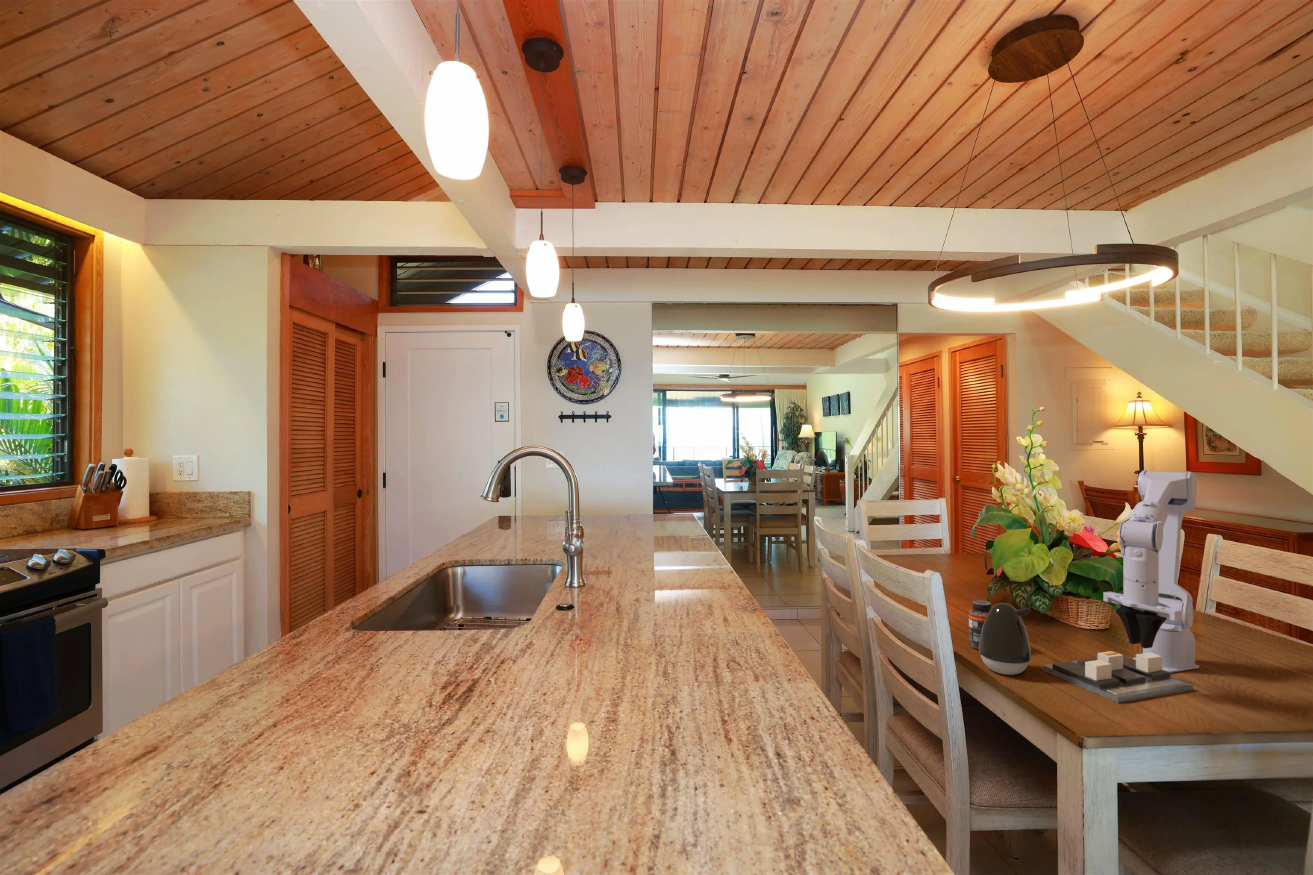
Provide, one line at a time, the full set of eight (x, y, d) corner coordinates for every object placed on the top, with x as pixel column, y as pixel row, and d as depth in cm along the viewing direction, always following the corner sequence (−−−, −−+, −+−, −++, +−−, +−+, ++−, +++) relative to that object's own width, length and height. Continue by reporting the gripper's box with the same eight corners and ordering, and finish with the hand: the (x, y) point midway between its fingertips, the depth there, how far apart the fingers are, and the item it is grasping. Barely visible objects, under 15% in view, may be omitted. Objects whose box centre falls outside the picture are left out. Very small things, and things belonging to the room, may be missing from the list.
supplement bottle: (996, 645, 154) (995, 600, 153) (996, 653, 148) (996, 606, 148) (969, 641, 156) (969, 597, 156) (968, 649, 151) (968, 603, 151)
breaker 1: (1099, 673, 130) (1099, 659, 130) (1111, 678, 128) (1111, 663, 128) (1085, 675, 129) (1085, 661, 129) (1096, 680, 127) (1096, 666, 127)
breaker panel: (1112, 660, 143) (1112, 650, 143) (1192, 690, 127) (1192, 679, 127) (1043, 670, 138) (1043, 660, 138) (1117, 703, 122) (1117, 692, 121)
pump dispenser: (1039, 681, 132) (1039, 611, 132) (987, 678, 134) (986, 608, 134) (1021, 663, 142) (1021, 597, 142) (973, 660, 144) (972, 596, 144)
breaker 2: (1150, 665, 134) (1150, 652, 134) (1162, 670, 131) (1162, 656, 131) (1136, 668, 133) (1136, 654, 133) (1147, 672, 130) (1147, 658, 130)
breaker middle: (1111, 664, 135) (1111, 650, 135) (1123, 668, 133) (1123, 654, 132) (1097, 666, 134) (1097, 652, 134) (1108, 671, 132) (1108, 656, 131)
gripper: (1092, 573, 133) (1092, 635, 133) (1163, 590, 119) (1163, 660, 119) (1117, 570, 134) (1117, 632, 135) (1190, 587, 120) (1190, 656, 121)
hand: (1140, 645), depth 127 cm, fingers closed
